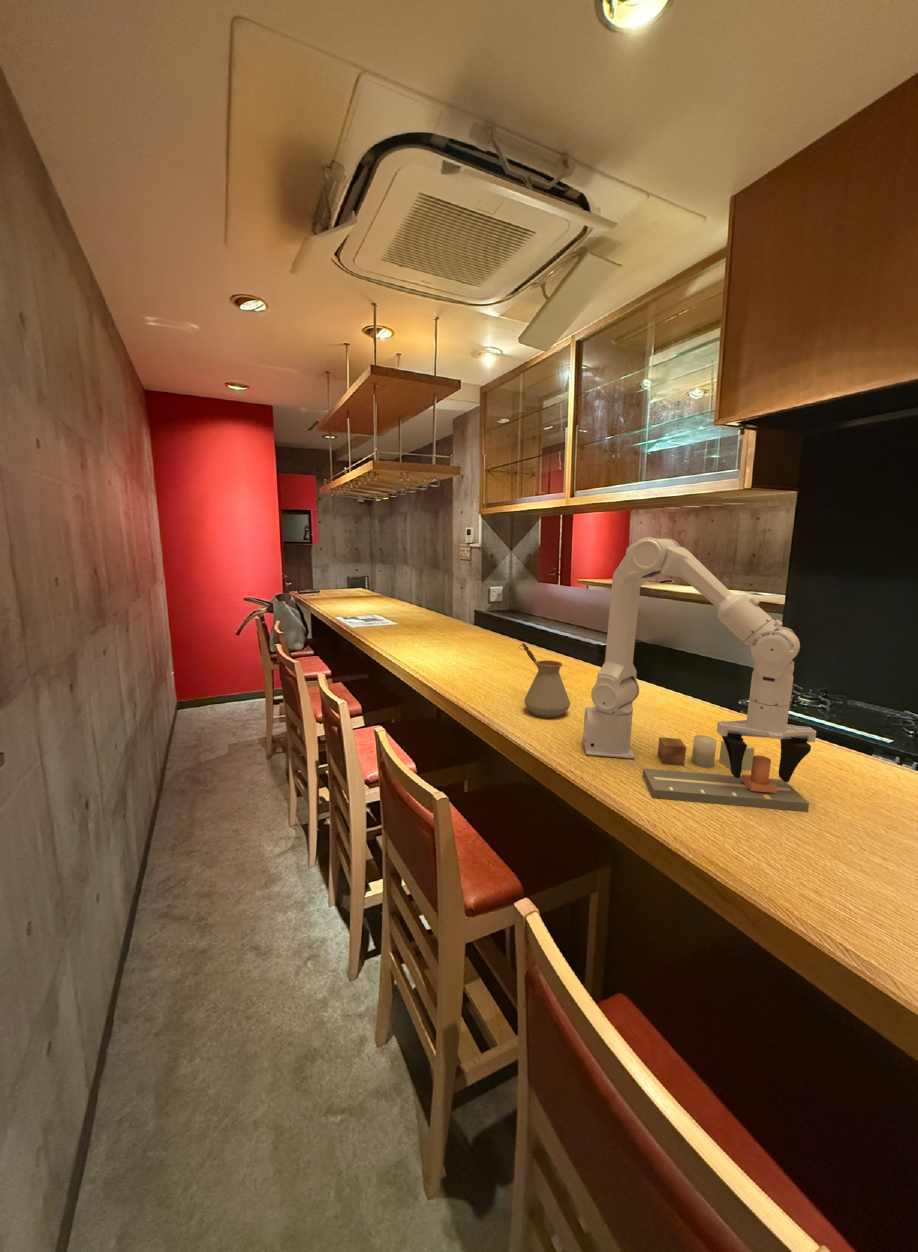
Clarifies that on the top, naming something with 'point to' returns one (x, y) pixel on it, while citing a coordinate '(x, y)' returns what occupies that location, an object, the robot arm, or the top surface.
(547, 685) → the coffee pot
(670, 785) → the slate board
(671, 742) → the walnut block
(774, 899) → the top surface
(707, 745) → the grey cylinder
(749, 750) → the sage block
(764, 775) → the counter slider
